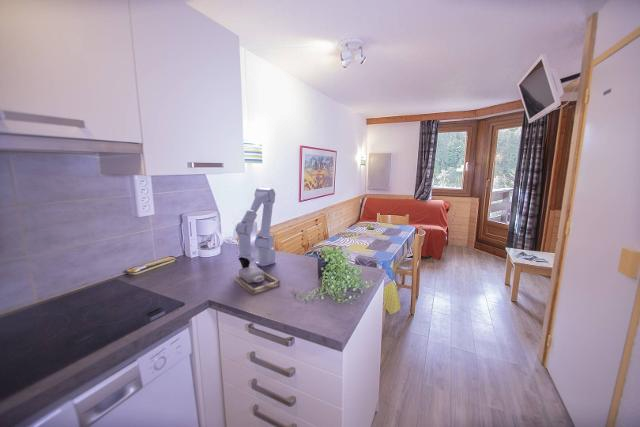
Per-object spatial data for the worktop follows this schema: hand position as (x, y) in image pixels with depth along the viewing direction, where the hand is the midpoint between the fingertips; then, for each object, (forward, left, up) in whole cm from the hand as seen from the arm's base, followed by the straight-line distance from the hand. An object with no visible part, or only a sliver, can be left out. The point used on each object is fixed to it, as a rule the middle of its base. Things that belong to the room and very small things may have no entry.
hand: (245, 270), depth 135 cm
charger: (0, +9, -3) cm, 9 cm away
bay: (0, +11, -2) cm, 12 cm away
